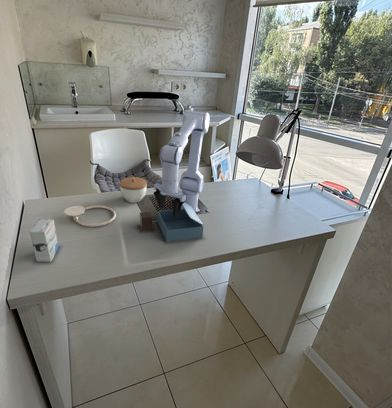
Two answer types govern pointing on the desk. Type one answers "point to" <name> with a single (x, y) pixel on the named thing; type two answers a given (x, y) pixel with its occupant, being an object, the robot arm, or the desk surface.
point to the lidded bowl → (133, 189)
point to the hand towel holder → (78, 210)
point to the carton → (178, 226)
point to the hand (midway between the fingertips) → (168, 211)
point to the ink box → (44, 240)
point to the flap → (191, 213)
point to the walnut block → (146, 221)
